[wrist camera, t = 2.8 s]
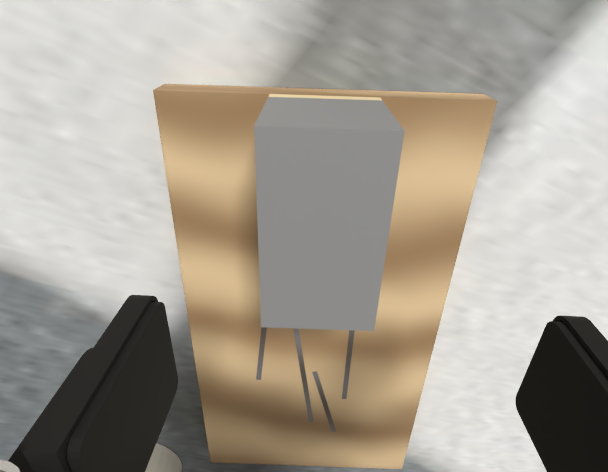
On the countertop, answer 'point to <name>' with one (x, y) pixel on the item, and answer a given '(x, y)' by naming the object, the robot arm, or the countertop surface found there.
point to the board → (313, 342)
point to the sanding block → (324, 208)
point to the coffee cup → (163, 460)
